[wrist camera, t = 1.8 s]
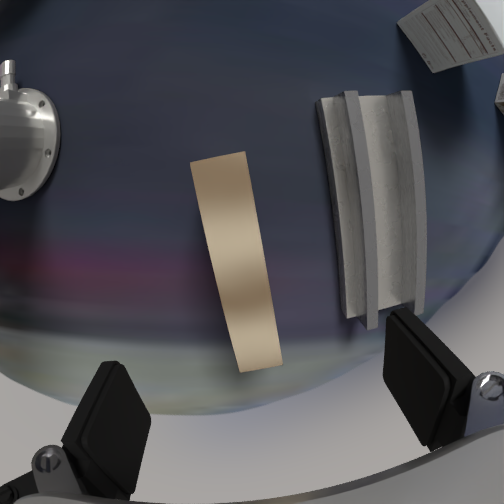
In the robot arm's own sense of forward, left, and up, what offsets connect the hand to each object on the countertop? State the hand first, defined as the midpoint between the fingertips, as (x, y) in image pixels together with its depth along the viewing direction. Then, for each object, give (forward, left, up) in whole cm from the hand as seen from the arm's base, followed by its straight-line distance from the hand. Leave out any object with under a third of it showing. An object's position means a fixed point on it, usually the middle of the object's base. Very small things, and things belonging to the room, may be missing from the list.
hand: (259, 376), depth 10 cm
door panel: (0, 0, -21) cm, 21 cm away
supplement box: (-19, +26, -21) cm, 38 cm away
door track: (0, +14, -21) cm, 25 cm away
